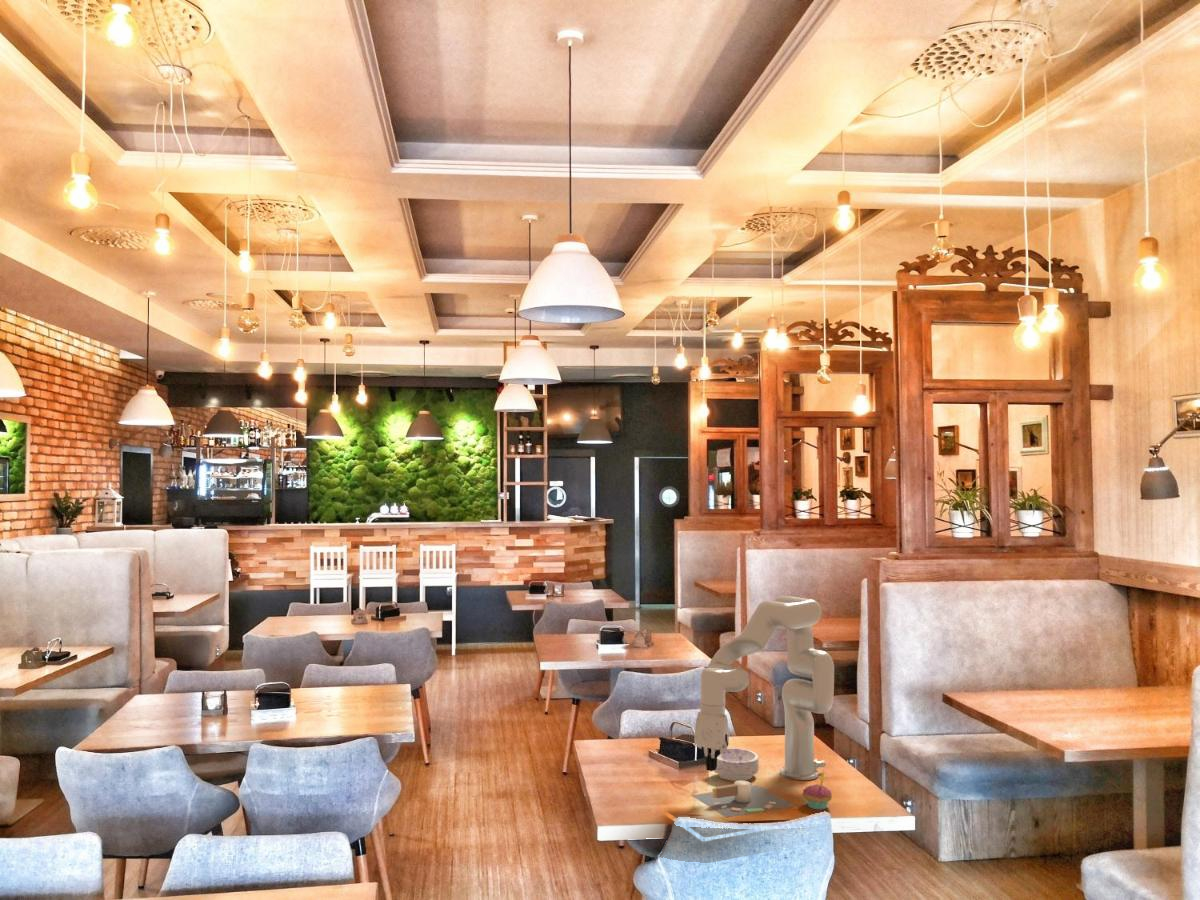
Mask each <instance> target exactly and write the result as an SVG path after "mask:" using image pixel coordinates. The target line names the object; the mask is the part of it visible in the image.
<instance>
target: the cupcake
mask: <svg viewBox="0 0 1200 900" xmlns="http://www.w3.org/2000/svg"><path fill="white" fill-rule="evenodd" d="M824 778H825V769H823V770H822V772H821V777H820V784H812V785H808V786H807V787H806V786H805V788H804V789H803V790H802V797H803V798H804V799H805V800H806V802H807V805H808V807H809V808H811V809H813V810H814V809H815V810H825V809H826V808H827V806H828V804H829V801H830V802H831V800H832V797H833V795H832V791H831V789H829V788H828V787H826V786H823V783H824Z"/></svg>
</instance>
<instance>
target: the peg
mask: <svg viewBox="0 0 1200 900" xmlns="http://www.w3.org/2000/svg"><path fill="white" fill-rule="evenodd" d="M751 784H752V783H751V782H749V781H748V780H744V781H733V783H732V784H724V785H719V786H714V787H712V792H713V794H712V797H713V798H723V797H729V796H734V800H735V801H737V802H741V803H747V802H750V801H751V786H752V785H751Z"/></svg>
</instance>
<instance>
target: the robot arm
mask: <svg viewBox="0 0 1200 900" xmlns="http://www.w3.org/2000/svg"><path fill="white" fill-rule="evenodd" d="M821 618H822V607H821V605H820V604H819V602H818V601H816V600H815V599H810V598H802V597H797V596H792V595H791V596H789V595H780V596H778V597H776V598H775V599H774V600H764V601H761V602H760V603H759V604H758V605H757V606H756V608H755V610H754V612H753V614H752V615H751V617H750V618H749V620H748V622H747V623H746V625H745V626H744V628H743V630H742V632H741V633H740V634H739V635H737V636H735V637H734V638H732V639H730V640H729V641H728V642H726V643H725V644H723V645H722V646H721V647H720V648H719V649H718V650H717V651H716V652H715V653H714V655H713V656H712V657H711V660H710V662H709V664H708V666H707V667H705V668H704V669H702V670H701V675H700V678H701V679H700V702H698V703H697V707H698V708H700V711H698V712H697V716H696V719H695V726H694V744H695V746H696V747H697V748H698V749H700V750H702V752H703V753H704V757H705V767H706V768H705V771H709V772H712V771H713V770H716V768H717V757H718V756H719V755H720V754H725V753H727V752H728V750H727V748H728V746H729V744H730V743H729V742H730V733H729V732H730V731H729V722H728V717H727V714H726V693H727V692H730V693H731V692H732V693H733V692H735V693H738V692H741V691H745V689H746V688H747V687H748V685H749V683H750V676H749V675H750V674H749V673H748V672H747V671H746V670H745V669H744V668H742V667H739V666H734V665H731V664H733V662H735V661H736V660H737V659H740V658H743V657H746V656H749V655H752V654H757V653H759V652H762V651H764V648H766V645H767V644H768V642H769V640H770V639H771V637H772V635H773V634H774V632H775V631H776V629H778V630H779V629H780V630H786V634H787V655H786V656H787V661H786V662H787V668H788V671H789V672H790V673H791V674H793V675H796V676H799V677H804V678H809V679H812V681H810V680H806V679H802V678H801V679H800V678H790V679H788V680H786V681H785V682H784V683H783V685H782V689H781V696H782V705H783V708H784V766H782V767H780V769H779V773H780V775H781V776H783V777H785V778H787V779H789V780H790V779H791V780H797V781H810V780H814V779H817V778H819V771H818V770H817V769H818V768H825V767H826V761H825V760H819V761H818V759H815V756H814V755H815V720H814V717H813V714H812V713H815V714H827V713H828V712H829V711H830V710H831V708H832V706H833V704H834V695H835V694H834V692H835V691H834V690H835V664H834V663H835V662H834V660H833V658H832V656H831V655H830V654H829V653H828V652H827V651H824V650H821V649H815V647H814V631H813V627H814V625H816V624H817V623H819V621H820V619H821ZM713 772H714V771H713Z"/></svg>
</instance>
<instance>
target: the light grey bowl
mask: <svg viewBox="0 0 1200 900" xmlns="http://www.w3.org/2000/svg"><path fill="white" fill-rule="evenodd" d="M727 750H728V752H727V753H725V754H720V755H719V756H718V757H717V768H716V770H713V772H715V773H716V774H718V777H719V778H720V779H721V780H722V779H723V780H725V781H727V780H728V781H732V782H735V781H748V780H751V779H752V778H753V776H754V775H756V774H758V772H759V770H760V767H759V765H760V764H759V763H760V762H759V755H758V754H757V753H756V752H754V751H752V750H749V749H745V748H736V747H733V748H732V747H729V748H728V747H727Z"/></svg>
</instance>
